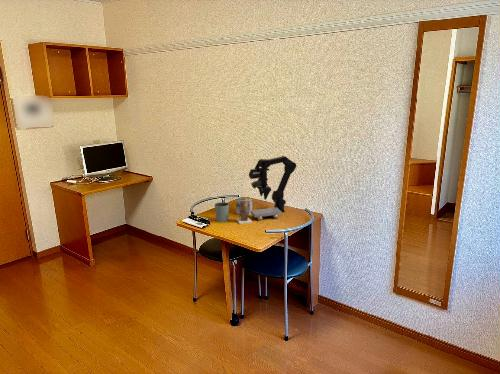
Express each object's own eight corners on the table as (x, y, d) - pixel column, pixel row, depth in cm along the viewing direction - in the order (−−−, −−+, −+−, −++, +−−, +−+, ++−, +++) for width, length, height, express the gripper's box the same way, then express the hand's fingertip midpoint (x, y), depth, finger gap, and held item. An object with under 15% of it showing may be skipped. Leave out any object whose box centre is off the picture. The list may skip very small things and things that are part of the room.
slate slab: (276, 213, 284) (276, 207, 283) (281, 218, 274) (281, 211, 272) (250, 216, 279) (250, 210, 277) (254, 221, 268) (254, 214, 267)
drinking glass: (212, 220, 273) (211, 204, 270) (223, 216, 280) (222, 201, 277) (221, 223, 266) (220, 207, 263) (232, 220, 273) (231, 203, 270)
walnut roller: (246, 218, 272) (246, 200, 269) (248, 220, 268) (248, 202, 264) (239, 219, 271) (239, 201, 268) (241, 221, 266) (241, 203, 263)
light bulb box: (236, 214, 285) (235, 200, 282) (238, 211, 291) (238, 197, 289) (250, 214, 283) (250, 200, 280) (252, 212, 289) (252, 198, 286)
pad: (248, 218, 275) (248, 217, 275) (252, 222, 266) (252, 221, 266) (236, 220, 272) (236, 218, 272) (239, 224, 264) (239, 222, 264)
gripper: (248, 175, 281) (249, 195, 285) (256, 180, 264) (256, 202, 268) (263, 173, 284) (263, 194, 288) (271, 179, 267) (271, 201, 271)
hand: (263, 197), depth 278 cm, fingers open, 9 cm apart
